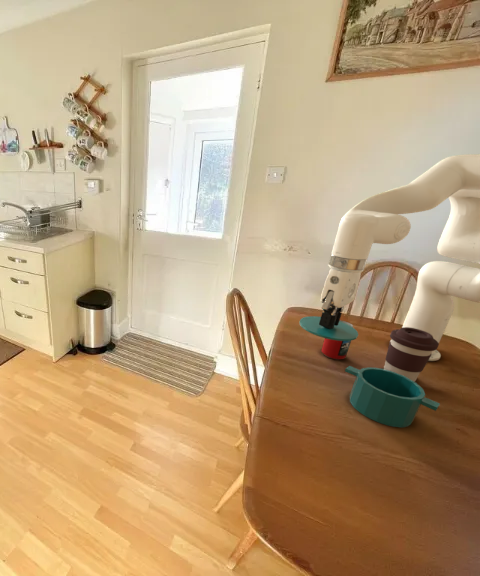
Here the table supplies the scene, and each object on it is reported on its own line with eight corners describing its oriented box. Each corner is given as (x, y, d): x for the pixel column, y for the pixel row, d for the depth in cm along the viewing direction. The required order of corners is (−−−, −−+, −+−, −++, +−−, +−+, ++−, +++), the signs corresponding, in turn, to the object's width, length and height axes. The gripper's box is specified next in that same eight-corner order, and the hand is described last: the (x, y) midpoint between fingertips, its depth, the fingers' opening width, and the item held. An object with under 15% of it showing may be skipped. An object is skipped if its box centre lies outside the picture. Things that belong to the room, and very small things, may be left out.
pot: (349, 381, 92) (357, 357, 89) (433, 420, 78) (447, 393, 75) (329, 398, 86) (338, 372, 83) (417, 443, 72) (432, 414, 69)
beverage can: (346, 363, 101) (357, 330, 96) (321, 357, 104) (330, 325, 100) (344, 353, 106) (354, 322, 102) (320, 347, 110) (329, 317, 105)
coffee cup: (430, 388, 89) (451, 343, 84) (390, 384, 91) (408, 339, 86) (406, 368, 98) (423, 326, 93) (370, 364, 100) (385, 323, 95)
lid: (312, 315, 97) (317, 297, 95) (365, 333, 87) (372, 313, 85) (289, 327, 91) (294, 308, 88) (344, 348, 80) (351, 327, 78)
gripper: (350, 271, 74) (330, 339, 81) (376, 261, 83) (356, 323, 89) (316, 264, 80) (299, 327, 87) (343, 255, 89) (326, 313, 95)
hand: (328, 324), depth 88 cm, fingers closed on lid, 2 cm apart
